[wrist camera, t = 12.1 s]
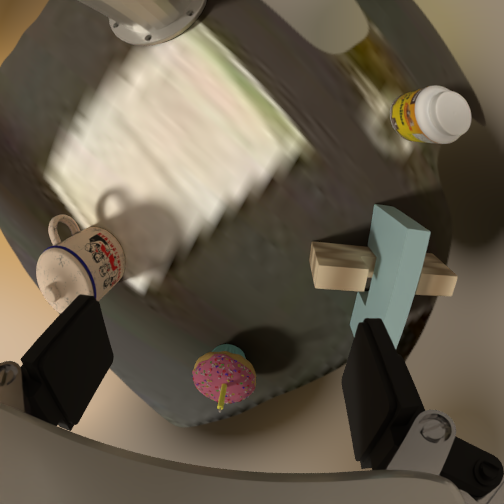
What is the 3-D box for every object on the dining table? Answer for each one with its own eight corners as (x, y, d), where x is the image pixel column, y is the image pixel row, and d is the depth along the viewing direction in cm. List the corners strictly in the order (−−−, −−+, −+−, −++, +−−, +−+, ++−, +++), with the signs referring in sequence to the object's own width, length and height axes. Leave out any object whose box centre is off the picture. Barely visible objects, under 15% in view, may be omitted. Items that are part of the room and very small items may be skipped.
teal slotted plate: (374, 203, 32) (407, 228, 23) (393, 206, 32) (430, 231, 23) (349, 324, 38) (365, 374, 29) (366, 324, 38) (385, 374, 29)
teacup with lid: (138, 278, 39) (95, 326, 28) (91, 291, 40) (46, 334, 29) (104, 194, 35) (45, 218, 24) (58, 216, 37) (2, 244, 26)
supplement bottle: (394, 86, 27) (435, 69, 18) (434, 107, 28) (483, 101, 18) (381, 129, 29) (420, 126, 20) (422, 149, 30) (470, 156, 20)
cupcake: (209, 324, 40) (186, 387, 29) (268, 345, 40) (263, 412, 29) (194, 366, 43) (172, 426, 32) (247, 384, 43) (237, 447, 32)
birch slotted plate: (309, 260, 36) (315, 288, 29) (311, 241, 35) (318, 265, 28) (427, 270, 35) (451, 296, 28) (432, 253, 34) (457, 276, 27)
